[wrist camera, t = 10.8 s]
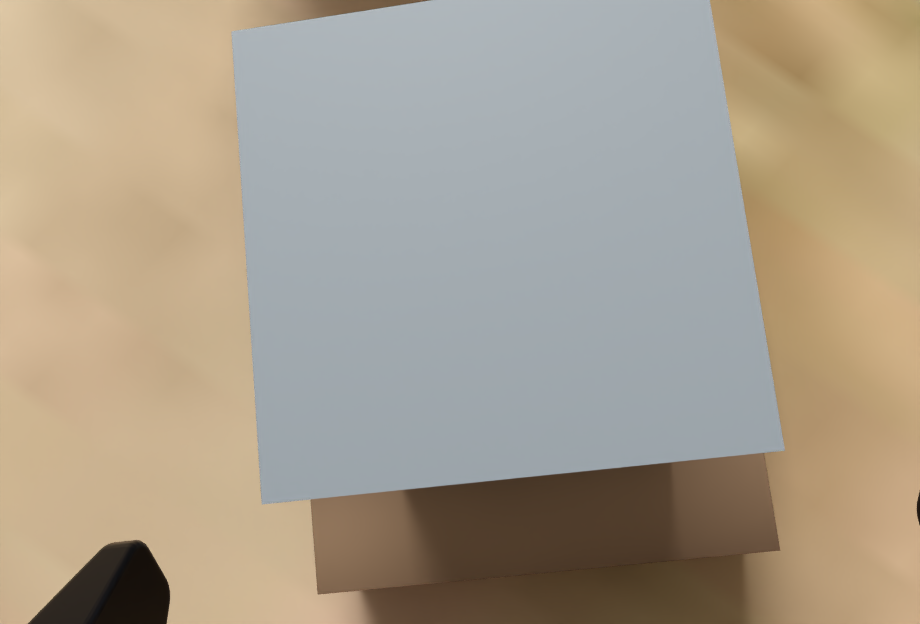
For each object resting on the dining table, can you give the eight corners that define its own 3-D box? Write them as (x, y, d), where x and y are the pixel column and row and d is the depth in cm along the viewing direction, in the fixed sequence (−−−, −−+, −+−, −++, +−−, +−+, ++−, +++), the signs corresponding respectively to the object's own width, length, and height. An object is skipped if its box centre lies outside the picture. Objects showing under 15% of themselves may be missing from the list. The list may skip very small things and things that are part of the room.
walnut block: (738, 531, 21) (780, 550, 17) (359, 568, 22) (317, 594, 18) (679, 162, 23) (704, 104, 19) (329, 210, 24) (285, 165, 20)
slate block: (670, 445, 18) (785, 450, 9) (399, 474, 19) (262, 504, 10) (632, 182, 19) (702, -43, 10) (375, 216, 20) (231, 31, 11)
